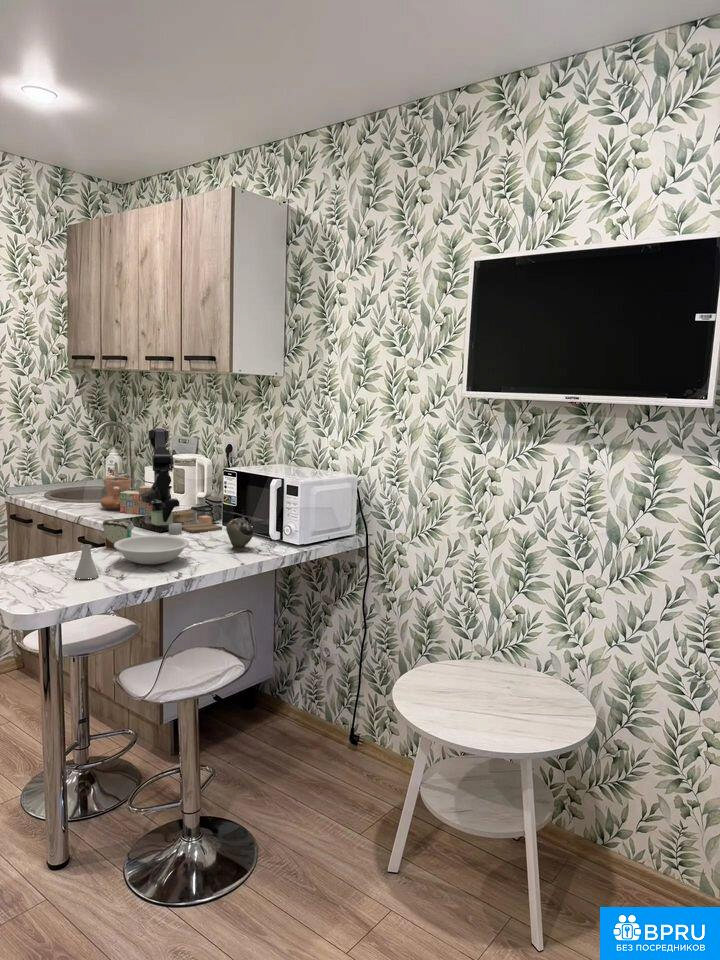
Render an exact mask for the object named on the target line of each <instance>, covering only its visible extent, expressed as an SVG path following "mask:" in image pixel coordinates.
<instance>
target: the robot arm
mask: <svg viewBox="0 0 720 960" xmlns="http://www.w3.org/2000/svg"><path fill="white" fill-rule="evenodd" d="M147 433H148V435H147V437H148V438H147V440H148V441H149V445H150V447H151V448H152V450H153V455H152V456H151V460H152V461H151V462H152V463H151V465H152V471H153V478H154V480H153V484H152V485H151V486H152V487H151V490H150V491H147V492H145V493H143V494H141V498H142V501H143V502H145V503H149V506H152V511H160V510H162V513H163V521H164V522H167V520H168V518H169V516H170V514H171V512H173V510H174V509H175V508H178V507H180V501H179V499H176V498H174V497H173V498H172V494H171V491H170V492H169V489H170V490H171V489H172V485H171V483H172V477H171V476H170V472H173V469H175V468H174V467H175V465H174V458H173V456H172V455H171V452H170V451H171V450H169V449H168V448H167V444H168V441H169V439H170V434H169V433H170V432H169V430H167V429H165V428H158V427H157V428H156V427H155V428H153V429H150V430H148V432H147ZM148 519H151V516H149V517H148Z"/></svg>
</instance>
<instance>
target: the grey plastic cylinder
mask: <svg viewBox="0 0 720 960" xmlns="http://www.w3.org/2000/svg"><path fill="white" fill-rule="evenodd" d="M182 525H183V523H169V524H168V535H169V536H179V534H180V535H182V533H183V530H182Z"/></svg>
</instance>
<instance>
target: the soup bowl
mask: <svg viewBox="0 0 720 960" xmlns="http://www.w3.org/2000/svg"><path fill="white" fill-rule="evenodd" d="M189 545H190V541H189V540H188V539H186V538H183V537H180V536H176V535H163V534H161V535H160V534H155V535H154V534H152V535H137V536H136V535H135V536H131V537H130V538H125V539H122V540H119V541H117V542H115V544H114V547H115V548H116V549H118V550H120V551H119V552H120V554H121V555H122V556H123V557H124V558H126V560H129V561H130V562H132V563H136V564H140V565H160V564H164V563H168V562H171V561H173V560H175V559H176V558H177V557H179V555H180V554H182V552H183V550H184V549H185V548H187V547H188V546H189ZM118 550H117V551H118Z"/></svg>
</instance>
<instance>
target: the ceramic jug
mask: <svg viewBox="0 0 720 960" xmlns="http://www.w3.org/2000/svg"><path fill="white" fill-rule="evenodd" d="M131 484H132V478H129V477H125V476H108V477H107V476H106V477H103V485H104V489H105V490H106V493H107V494H106V495H105V496H104V497H103V498H101V500H100V506H101V507H103V508H104V509H106V510H111V511H120V493H121V492H124V491H130V487H131Z"/></svg>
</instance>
